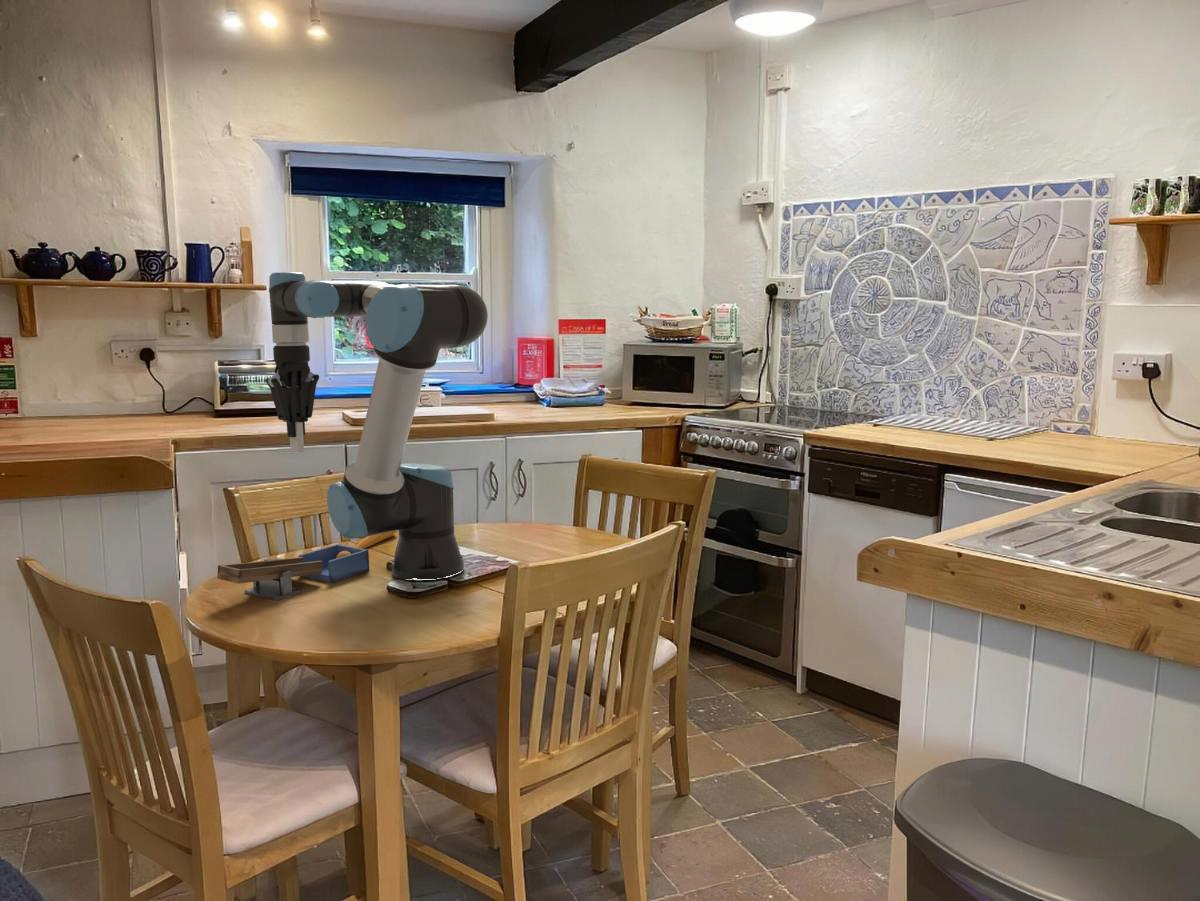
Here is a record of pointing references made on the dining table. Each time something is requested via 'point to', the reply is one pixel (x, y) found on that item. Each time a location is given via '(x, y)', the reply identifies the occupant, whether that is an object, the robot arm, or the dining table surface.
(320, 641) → the dining table surface
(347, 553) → the ball
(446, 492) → the robot arm
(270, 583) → the stand
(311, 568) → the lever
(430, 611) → the dining table surface
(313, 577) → the tray
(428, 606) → the dining table surface
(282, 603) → the dining table surface
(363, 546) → the carrot
